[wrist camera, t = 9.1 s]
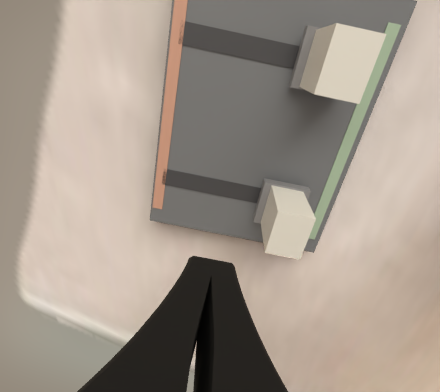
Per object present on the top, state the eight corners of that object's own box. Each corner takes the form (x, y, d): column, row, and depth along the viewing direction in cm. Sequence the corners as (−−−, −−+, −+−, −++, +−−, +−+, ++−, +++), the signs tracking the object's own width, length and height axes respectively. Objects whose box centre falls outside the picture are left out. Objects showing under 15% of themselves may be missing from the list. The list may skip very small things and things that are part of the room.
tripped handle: (308, 187, 17) (325, 218, 14) (294, 225, 18) (307, 263, 15) (264, 178, 17) (270, 207, 13) (253, 217, 18) (256, 253, 15)
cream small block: (360, 38, 13) (398, 33, 10) (339, 97, 15) (368, 108, 11) (305, 26, 13) (326, 17, 10) (288, 85, 15) (302, 94, 11)
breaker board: (400, 6, 14) (418, 0, 13) (308, 239, 20) (313, 253, 19) (183, -43, 14) (177, -54, 13) (155, 209, 20) (149, 220, 19)
